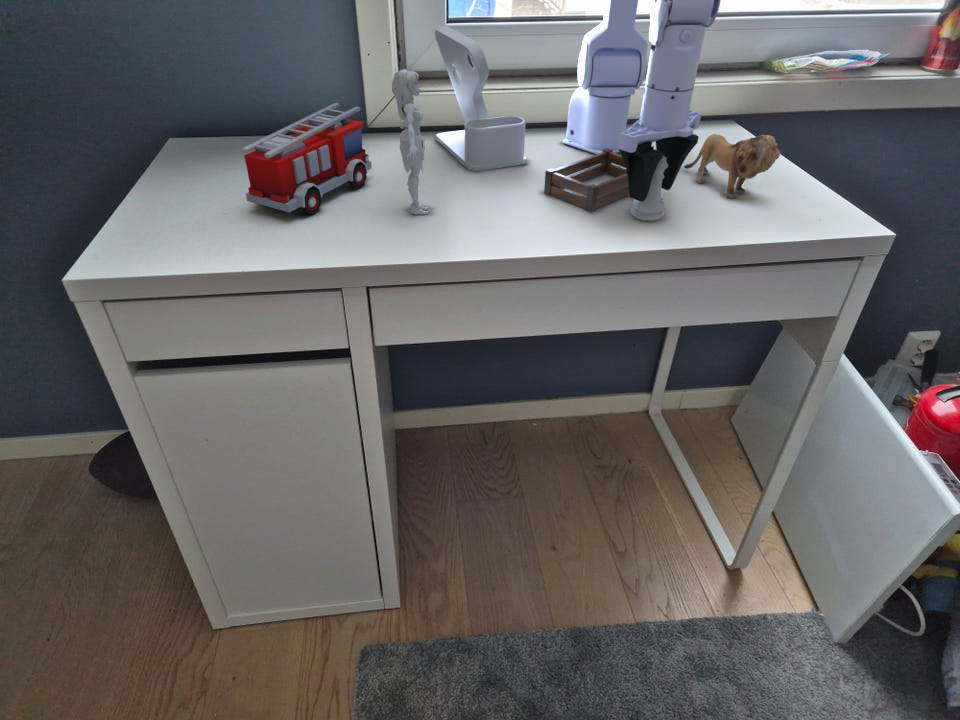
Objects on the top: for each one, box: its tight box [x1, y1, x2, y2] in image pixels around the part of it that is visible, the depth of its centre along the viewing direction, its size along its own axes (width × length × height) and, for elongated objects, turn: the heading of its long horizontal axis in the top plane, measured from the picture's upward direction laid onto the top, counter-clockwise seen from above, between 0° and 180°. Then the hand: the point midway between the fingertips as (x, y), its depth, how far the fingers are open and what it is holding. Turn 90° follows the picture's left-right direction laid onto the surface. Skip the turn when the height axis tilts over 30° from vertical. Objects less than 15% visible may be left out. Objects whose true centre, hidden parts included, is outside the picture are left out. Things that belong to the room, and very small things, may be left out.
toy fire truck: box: [241, 102, 373, 216], centre depth 90 cm, size 9×19×10 cm, turn 152°
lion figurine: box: [683, 133, 782, 199], centre depth 94 cm, size 15×5×9 cm, turn 33°
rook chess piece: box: [630, 156, 668, 222], centre depth 86 cm, size 4×4×8 cm
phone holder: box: [434, 25, 527, 172], centre depth 103 cm, size 17×10×18 cm, turn 23°
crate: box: [543, 149, 630, 213], centre depth 94 cm, size 9×14×3 cm, turn 132°
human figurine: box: [391, 68, 429, 215], centre depth 83 cm, size 12×4×18 cm, turn 10°
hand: (650, 193), depth 86 cm, fingers open, 5 cm apart
